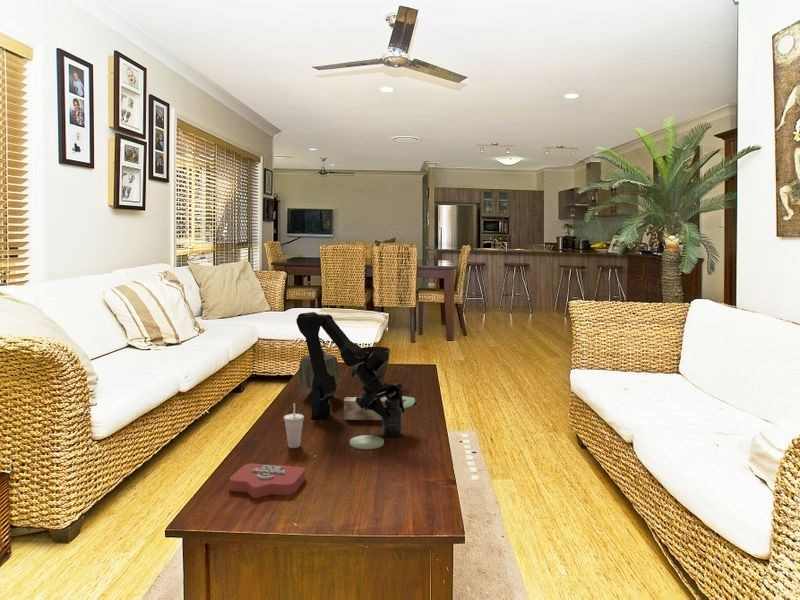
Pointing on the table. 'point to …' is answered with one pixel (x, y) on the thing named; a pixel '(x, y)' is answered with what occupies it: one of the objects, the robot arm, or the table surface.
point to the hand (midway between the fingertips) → (395, 415)
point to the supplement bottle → (392, 418)
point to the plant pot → (384, 367)
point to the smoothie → (294, 428)
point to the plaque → (267, 479)
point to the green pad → (366, 442)
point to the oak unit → (359, 410)
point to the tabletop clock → (307, 369)
